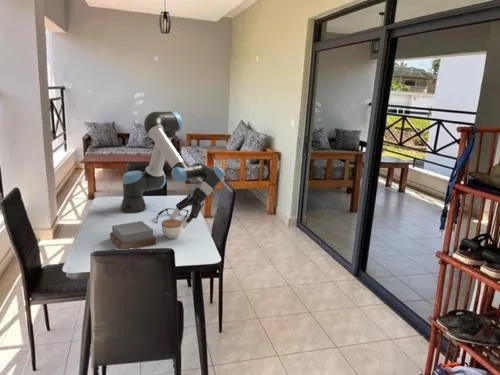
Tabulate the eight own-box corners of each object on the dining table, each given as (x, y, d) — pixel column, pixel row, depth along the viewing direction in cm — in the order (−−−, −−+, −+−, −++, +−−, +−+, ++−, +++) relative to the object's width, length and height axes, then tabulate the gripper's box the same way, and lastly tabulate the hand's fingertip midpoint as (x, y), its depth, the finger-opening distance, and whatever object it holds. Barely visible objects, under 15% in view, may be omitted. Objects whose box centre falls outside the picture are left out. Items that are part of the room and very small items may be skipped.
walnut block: (110, 240, 194) (109, 232, 194) (143, 234, 204) (143, 227, 203) (121, 252, 181) (120, 244, 180) (155, 245, 191) (155, 238, 190)
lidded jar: (162, 240, 196) (162, 223, 194) (160, 233, 206) (160, 216, 203) (183, 239, 199) (183, 222, 197) (181, 232, 209) (181, 215, 207)
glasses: (191, 217, 236) (191, 209, 235) (183, 226, 219) (183, 217, 218) (164, 215, 238) (164, 207, 237) (154, 223, 221) (154, 215, 220)
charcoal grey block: (112, 233, 193) (112, 225, 192) (141, 228, 202) (141, 220, 201) (122, 243, 181) (122, 235, 180) (153, 237, 190) (153, 229, 189)
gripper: (218, 201, 198) (192, 234, 193) (195, 190, 218) (170, 220, 213) (210, 192, 194) (182, 226, 189) (187, 182, 213) (161, 212, 208)
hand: (176, 223), depth 201 cm, fingers open, 13 cm apart
